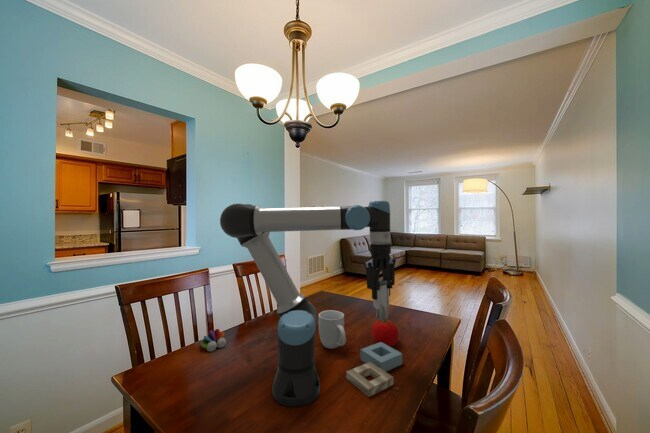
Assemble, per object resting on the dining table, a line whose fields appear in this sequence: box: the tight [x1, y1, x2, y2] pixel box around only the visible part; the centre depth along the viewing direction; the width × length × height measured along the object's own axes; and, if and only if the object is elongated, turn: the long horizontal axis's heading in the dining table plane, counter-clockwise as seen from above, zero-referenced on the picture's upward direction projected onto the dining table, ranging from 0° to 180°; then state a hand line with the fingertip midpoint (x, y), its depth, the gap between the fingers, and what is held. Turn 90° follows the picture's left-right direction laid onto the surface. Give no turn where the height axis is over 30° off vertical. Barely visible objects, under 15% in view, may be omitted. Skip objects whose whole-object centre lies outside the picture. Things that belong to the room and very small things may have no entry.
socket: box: [359, 342, 403, 373], centre depth 101 cm, size 11×11×4 cm
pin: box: [375, 277, 388, 321], centre depth 98 cm, size 5×5×14 cm
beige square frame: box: [345, 362, 394, 398], centre depth 89 cm, size 11×11×2 cm
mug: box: [317, 309, 347, 350], centre depth 112 cm, size 15×11×13 cm
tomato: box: [370, 319, 399, 348], centre depth 115 cm, size 12×12×10 cm
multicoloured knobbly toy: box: [200, 328, 227, 353], centre depth 112 cm, size 8×10×7 cm
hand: (381, 306), depth 98 cm, fingers closed on pin, 4 cm apart
